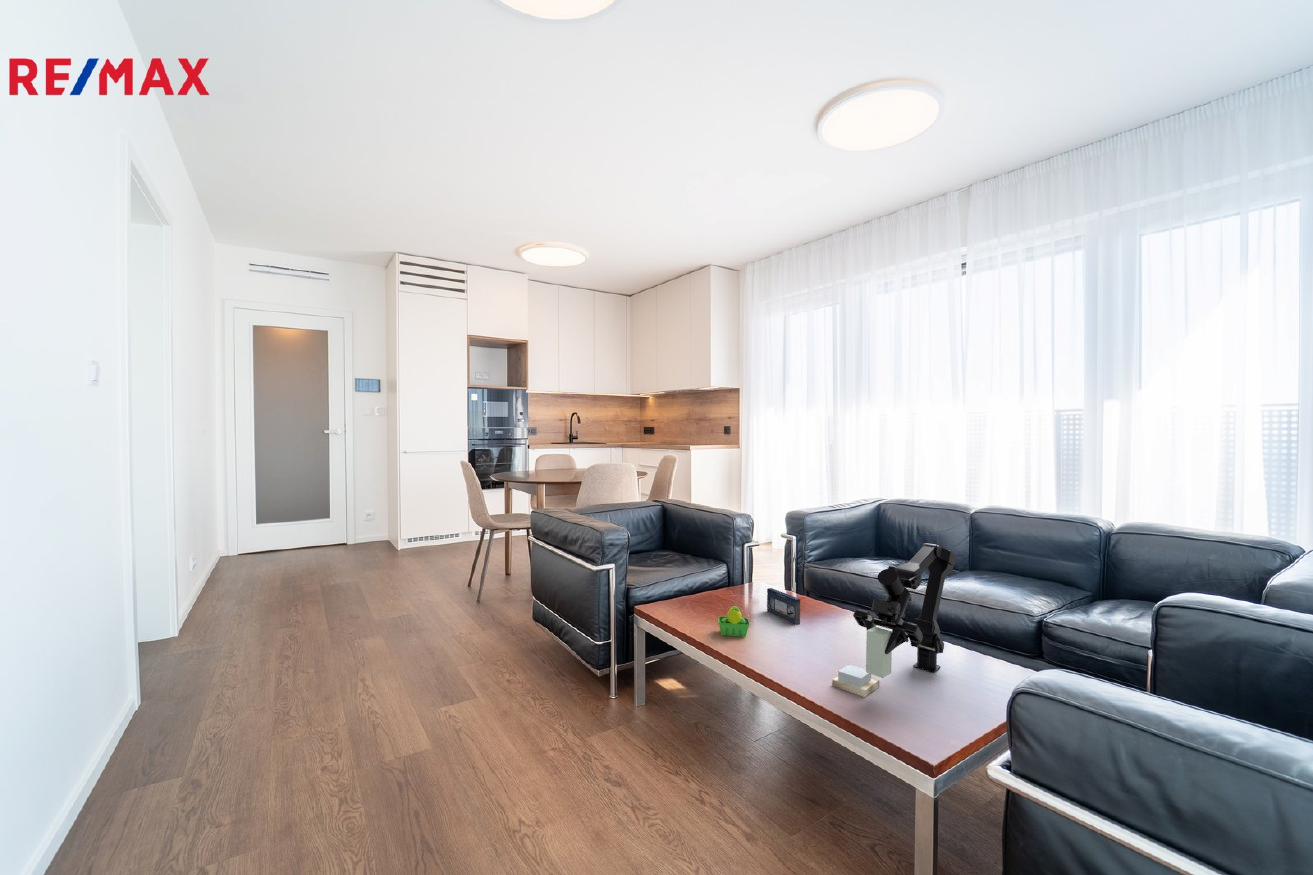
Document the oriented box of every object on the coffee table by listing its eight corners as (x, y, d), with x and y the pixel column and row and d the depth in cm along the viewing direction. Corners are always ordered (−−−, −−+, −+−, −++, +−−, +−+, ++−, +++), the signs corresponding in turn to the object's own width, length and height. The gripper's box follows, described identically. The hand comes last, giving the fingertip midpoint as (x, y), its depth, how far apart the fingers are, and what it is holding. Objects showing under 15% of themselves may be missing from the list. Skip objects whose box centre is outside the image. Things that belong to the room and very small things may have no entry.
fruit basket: (748, 631, 211) (748, 601, 211) (749, 639, 202) (750, 608, 202) (717, 629, 212) (718, 600, 212) (718, 638, 203) (718, 607, 203)
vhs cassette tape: (766, 611, 235) (766, 588, 235) (772, 610, 236) (772, 587, 236) (794, 625, 218) (794, 600, 218) (800, 624, 220) (800, 599, 220)
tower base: (847, 677, 172) (847, 669, 172) (879, 688, 165) (879, 680, 165) (832, 687, 165) (832, 679, 165) (864, 699, 158) (865, 690, 158)
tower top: (848, 672, 170) (848, 664, 170) (871, 679, 165) (871, 671, 165) (838, 679, 165) (838, 671, 165) (861, 687, 160) (861, 678, 160)
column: (874, 667, 162) (875, 626, 162) (891, 673, 158) (891, 631, 158) (865, 672, 159) (866, 630, 159) (882, 678, 155) (883, 635, 155)
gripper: (856, 582, 168) (836, 626, 161) (919, 596, 154) (900, 645, 147) (869, 603, 173) (850, 646, 166) (930, 618, 159) (912, 667, 152)
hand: (876, 650), depth 158 cm, fingers closed on column, 5 cm apart
